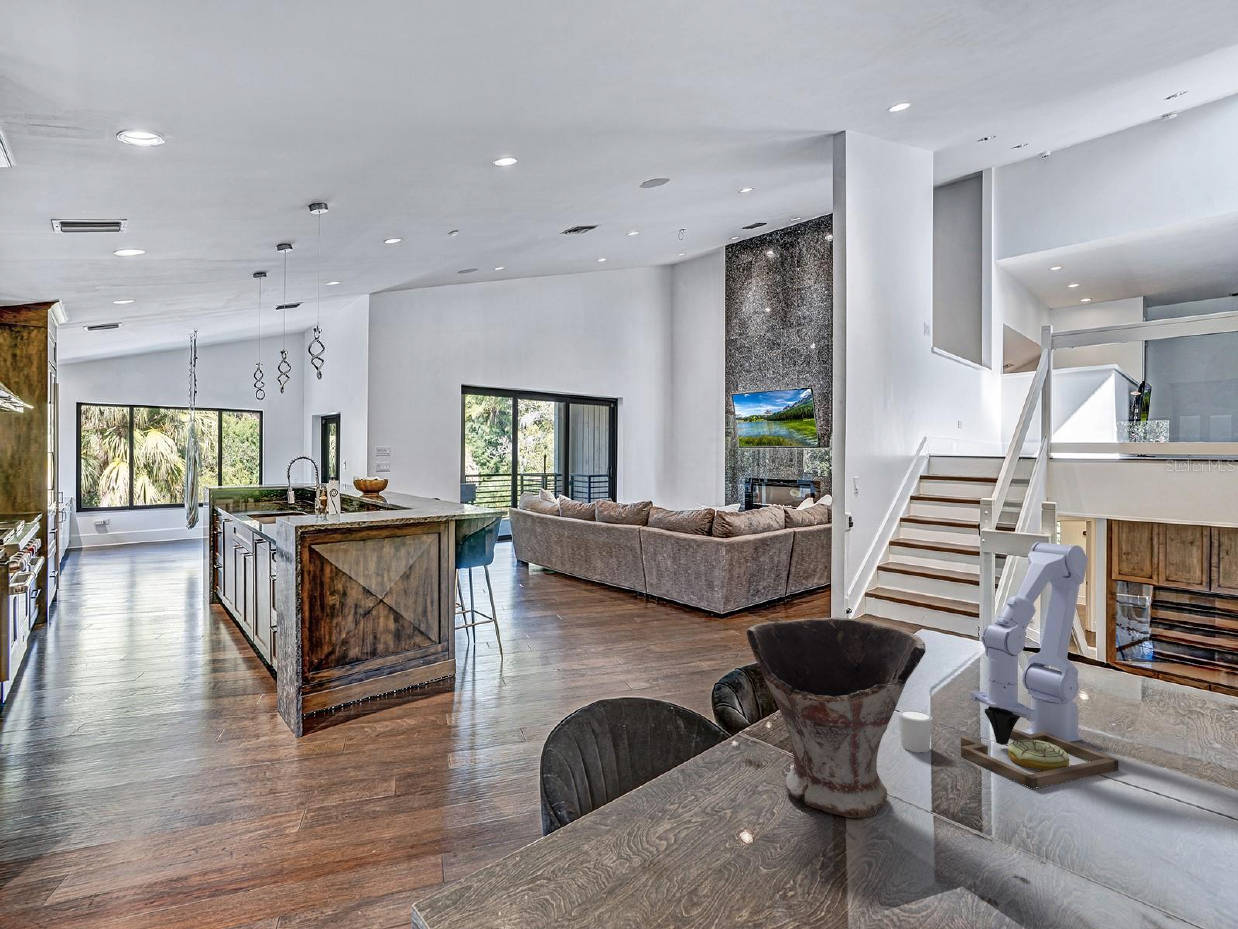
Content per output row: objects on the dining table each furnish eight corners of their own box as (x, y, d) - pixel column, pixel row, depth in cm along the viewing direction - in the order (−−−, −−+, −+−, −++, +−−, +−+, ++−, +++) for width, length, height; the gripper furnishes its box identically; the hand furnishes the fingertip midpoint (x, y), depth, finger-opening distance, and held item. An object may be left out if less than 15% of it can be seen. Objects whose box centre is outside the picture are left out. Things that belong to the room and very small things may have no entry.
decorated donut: (1001, 751, 146) (1001, 733, 147) (1058, 757, 144) (1058, 739, 144) (1015, 770, 136) (1015, 752, 137) (1076, 778, 134) (1076, 758, 134)
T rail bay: (945, 749, 146) (945, 739, 146) (1026, 734, 156) (1026, 725, 156) (1032, 789, 128) (1032, 778, 128) (1118, 770, 137) (1118, 760, 137)
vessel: (728, 771, 134) (730, 618, 134) (835, 751, 144) (837, 610, 145) (830, 848, 106) (833, 656, 107) (954, 816, 117) (955, 642, 117)
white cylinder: (936, 755, 143) (936, 722, 143) (901, 752, 144) (902, 719, 144) (928, 743, 150) (928, 711, 150) (895, 740, 151) (895, 708, 151)
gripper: (961, 673, 153) (960, 733, 153) (1020, 692, 140) (1020, 759, 139) (983, 670, 156) (983, 729, 155) (1044, 689, 142) (1043, 754, 142)
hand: (1002, 743), depth 148 cm, fingers closed
